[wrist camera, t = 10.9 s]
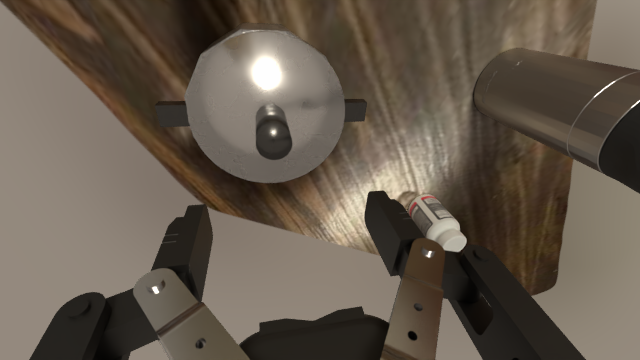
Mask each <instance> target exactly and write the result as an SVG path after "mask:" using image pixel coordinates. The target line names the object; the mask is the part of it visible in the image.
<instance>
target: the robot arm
mask: <svg viewBox="0 0 640 360" xmlns="http://www.w3.org/2000/svg"><path fill="white" fill-rule="evenodd" d="M474 101H475V105H476V107H477V109H478V110H479V111H480V112H481V113H483V114H484V115H486V116H488V117H490V118H492V119H494V120H496V121H498V122H500V123H502V124H504V125H506V126H508V127H510V128H512V129H514V130H516V131H518V132H520V133H522V134H524V135H526V136H528V137H530V138H532V139H534V140H536V141H538V142H540V143H542V144H544V145H546V146H548V147H550V148H552V149H554V150H556V151H558V152H560V153H562V154H564V155H566V156H568V157H570V158H572V159H575V160H577V161H579V162H581V163H583V164H585V165H587V166H589V167H591V168H593V169H595V170H597V171H599V172H601V173H603V174H605V175H607V176H609V177H611V178H613V179H615V180H617V181H619V182H621V183H623V184H624V185H626V186H628V187H629V188H631V189H633V190H634V191H636V192H638V193H640V70H637V69H631V68H626V67H621V66H615V65H609V64H604V63H599V62H593V61H588V60H582V59H577V58H572V57H566V56H561V55H555V54H550V53H545V52H540V51H534V50H528V49H523V48H515V49H510V50H508V51H505V52H503V53H502V54H500V55H498V56H497V57H496V58H494V59H493V60H492V61H491V62H490V63H489V64H488V65H487V67H486V68H485V69H484V70H483V72H482V74H481V75H480V77H479V79H478V81H477V84H476V87H475V91H474ZM365 224H366V227H367V229H368V231H369V233H370V235H371V237H372V239H373V241H374V243H375V245H376V247H377V249H378V251H379V253H380V255H381V258H382V259H383V262H384V264H385V265H386V267H387V270H388V272H389V274H390V276H396V275H399V276H400V278H401V282H400V285H399V288H398V292H397V295H396V298H395V302H394V305H393V309H392V312H391V316H390V319H389V322H386V321H384V320H382V319H380V318H378V317H375V316H371V315H366V314H364V312H363V309H362V307H355V308H349V309H342V310H337V311H335V312H333V313H331V314H328V315H326V316H324V317H322V318H319V319H317V320H315V321H306V320H296V319H280V320H274V321H268V322H261V323H260V331H259V332H257V333H255V334H253V335H251V336H250V337H248V338H247V339H245V340H244V341H243V342H241V343H240V344H239V345H238V344H237V343H236V341H235V340H234V339H233V338H232V337H231V335H230V334H229V333H228V332H227V331H226V329H225V328H224V327H223V326H222V324H221V323H220V322H219V321H218V320H217V318H216V317H215V316H214V315H213V313H212V312H211V311H210V310H209V308H208V307H207V306H206V305H205V304H204V303H203V302H201V301H202V295H203V289H204V285H205V279H206V274H207V268H208V263H209V257H210V251H211V246H212V240H213V234H212V233H213V232H212V227H211V222H210V218H209V213H208V209H207V206H206V204H203V205H191V206H188V207H187V210H186V213H185V216H184V217H178V218H176V219H175V220H174V221H173V222H172V223H171V224H170V225H169V226H168V228H167V231H166V233H165V237H164V239H163V241H162V244H161V246H160V249H159V251H158V254H157V256H156V259H155V262H154V264H153V267H152V269H151V271H150V272H149V273H147V274H145V275H144V276H143V277H141V278H140V279H139V280H138V281H137V283H136V284H135V286H134V288H132V289H130V290H128V291H125V292H123V293H120V294H117V295H114V296H112V297H109V298H106V299H105V297H104V296H103V295H102V294H100V293H97V292H91V293H85V294H83V295H80V296H77V297H75V298H73V299H72V300H70V301H69V302H67V303H66V304H64V305H63V306H62V307H61V308H60V309H59V310H58V312H57V313H56V314H55V316H54V318H53V319H52V321H51V323H50V325H49V326H48V328H47V330H46V332H45V333H44V335H43V337H42V339H41V340H40V342H39V344H38V346H37V347H36V349H35V351H34V353H33V354H32V356H31V358H30V359H29V360H128V359H129V356H130V352H131V351H133V350H136V349H138V348H140V347H142V346H144V345H146V344H149V343H151V342H153V341H155V340H158V341H159V343H160V345H161V346H162V348H163V350H164V351H165V353H166V355H167V356H168V358H169V360H435V357H436V348H437V341H438V333H439V325H440V317H441V309H442V300H443V298H446V299H448V300H449V302H450V303H451V305H452V307H453V308H454V310H455V312H456V314H457V315H458V317H459V319H460V321H461V322H462V324H463V326H464V328H465V329H466V331H467V333H468V335H469V336H470V338H471V340H472V341H473V343H474V345H475V347H476V348H477V350H478V352H479V354H480V355H481V357H482V359H483V360H586V359H585V358H584V357H583V356H582V355H581V353H580V352H579V351H578V350H577V349H576V348H575V347H574V345H573V344H572V343H571V342H570V341H569V340H568V338H567V337H566V336H565V335H564V334H563V333H562V331H561V330H560V329H559V328H558V327H557V326H556V325H555V323H554V322H553V321H552V320H551V319H550V318H549V316H548V315H547V314H546V313H545V312H544V311H543V310H542V308H541V307H540V306H539V305H538V304H537V303H536V301H535V300H534V299H533V298H532V297H531V296H530V294H529V293H528V292H527V291H526V290H525V289H524V287H523V286H522V285H521V284H520V283H519V282H518V280H517V279H516V278H515V277H514V276H513V275H512V274H511V272H510V271H509V270H508V269H507V268H506V267H505V265H504V264H503V263H502V262H501V261H500V260H499V258H498V257H497V256H496V255H495V254H494V253H493V252H491V251H490V250H488V249H487V248H484V247H482V246H478V245H469V246H467V247H466V248H465V249H464V251H463V253H461V252H454V251H447V250H444V249H443V247H442V246H441V245H440V244H439V243H437V242H436V241H434V240H431V239H428V238H426V237H425V236H424V235H423V233H422V232H421V230H420V229H419V228H418V226H417V225H416V223H415V222H414V221H413V219H411V216H410V215H409V214H408V213H407V211H406V209H405V208H404V207H403V205H402V204H400V203H399V202H397V201H396V200H395V199H390V198H389V197H388V195H387V194H386V192H385V191H371V192H369V193H368V197H367V203H366V209H365ZM483 296H484V297H483ZM485 299H486V300H487V301H486V300H485ZM200 302H201V303H200ZM487 302H488V303H489V304H488V303H487ZM490 306H491V307H490Z"/></svg>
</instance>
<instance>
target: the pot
mask: <svg viewBox="0 0 640 360" xmlns="http://www.w3.org/2000/svg"><path fill="white" fill-rule="evenodd" d="M253 31H272V32H279V33H283V34H287V35H290V36H293V37H295V38H297V39H300V40H301V41H303V42H305V43H307V42H306V41H304V40H303V39H301V38H300V37H298V36H297V35H296V34H294V33H293V32H291V31H290V30H288V29H287V28H285V27H284V26H282V25H281V24H263V23H242V24H241V25H239V26H237V27H236V28H234V29H233V30H231V31H230V32H228V33H227V34H225V35H223V36H222V37H220V38H219V39H217V40H216V41H214V42H212V43H211V44H210V45H209V46H208V48H207V49H206V50H205V51H204V52H203V53H202V54H201V55H200V57H199V60H198V62H197V65H196V68H195V70H194V73H195V71H196V69H197V67H198V66H199V65H200V63H201V62H202V60H203V59H204V58H205V57H206V56H207V55H208V54H209V53H210V52H211V51H212V50H213V49H214V48H215V47H216V46H218V45H219V44H220V43H222V42H224V41H226V40H228V39H229V38H231V37H234V36H237V35H240V34H242V33H248V32H253ZM307 44H308V45H310V44H309V43H307ZM310 46H311V47H312V48H313V49H315V48H314V47H313V46H312V45H310ZM315 50H316V51H317V52H319V51H318V50H317V49H315ZM319 53H320V54H321V55H322V56H323V57H324V58H325V60H326V61H327V62H328V60H327V58H326V56H324V55H323V54H322V53H321V52H319ZM328 63H329V62H328ZM329 65H330V64H329ZM194 73H193V75H194ZM193 75H192V77H193ZM191 79H192V78H191ZM190 83H191V80H190ZM190 83H189V85H188V88H187V90H186V93H185V95H184V97H185V101H158V103H157V104H156V105H155V108H156V112H157V116H158V119H159V123H160V126H161V127H177V126H190V124H189V121H188V114H187V96H188V89H189V86H190ZM344 102H345V118H344V122H355V121H364V120H365V113H366V106H367V102H366V101H365V100H364V99H344ZM192 134H193V133H192ZM193 137H194V135H193ZM194 138H195V137H194Z"/></svg>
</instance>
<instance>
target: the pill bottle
mask: <svg viewBox="0 0 640 360" xmlns="http://www.w3.org/2000/svg"><path fill="white" fill-rule="evenodd" d="M408 213H409V215H410V216H411V218H412V219H413V221H414V222H415V223H416V225H417V226H418V228H419V229H420V230H421V232H422V233H423V234H424V236H425V237H426V238H428V239H431V240H434V241H436V242H437V243H439V244H440V245H441V246H442V247H443V249H444V250H447V251H454V252H459V251H460V250H462V249H463V248H464V246H465V245H466V242H467V240H466V238H465V236H464V235H463V234H462V233H461V232H460V225H459V223H458V222H457V220H456V219H455V218H454V217H453V216H452V215H451V214H450V213H449V212H448V211H447V210H446V209H445V208H444V207H443V205H442V204H441V203H440V202H439V201H438V200H437V199H436V198H435V197H434V196H433V195H430V194H424V195H421V196H418V197H417V198H415V199H414V200H413V201H412V202H411V204H410V205H409V208H408Z"/></svg>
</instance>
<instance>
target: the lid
mask: <svg viewBox="0 0 640 360" xmlns="http://www.w3.org/2000/svg"><path fill="white" fill-rule="evenodd" d="M187 114H188V121H189V124H190V127H191V131H192V133H193V135H194V137H195V140H196V141H197V143H198V145H199V146H200V148H201V149H202V151H203V152H204V153H205V154H206V155H207V157H208V158H209V159H211V160H212V161H213V162H214V163H215V164H216V165H217V166H219V167H220V168H221V169H223V170H225V171H226V172H228V173H230V174H232V175H234V176H236V177H239V178H242V179H245V180H248V181H253V182H260V183H277V182H284V181H288V180H292V179H295V178H298V177H300V176H302V175H305V174H307V173H308V172H310V171H312V170H313V169H315V168H316V167H317V166H318V165H320V164H321V163H322V162H323V161H324V160H325V159H326V158H327V157H328V156H329V154H330V153H331V152H332V150H333V149H334V147H335V145H336V144H337V142H338V140H339V137H340V135H341V132H342V129H343V125H344V118H345V102H344V95H343V91H342V87H341V85H340V82H339V79H338V77H337V76H336V74H335V72H334V70H333V69H332V67H331V66H330V65H329V63H328V62H327V61H326V60H325V58H324V57H323V56H322V55H321V54H320V53H319V52H317V51H316V50H315V49H313V48H312V47H311V46H310V45H308V44H307V43H305V42H303V41H301V40H300V39H297V38H295V37H293V36H290V35H287V34H283V33H279V32H272V31H253V32H248V33H242V34H240V35H237V36H234V37H231V38H229V39H228V40H226V41H224V42H222V43H220V44H219V45H218V46H216V47H215V48H214V49H213V50H212V51H211V52H210V53H209V54H208V55H207V56H206V57H205V58H204V59H203V60H202V62H201V63H200V65H199V66H198V67H197V69H196V71H195V73H194V75H193V77H192V79H191V83H190V86H189V89H188V96H187Z"/></svg>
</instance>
